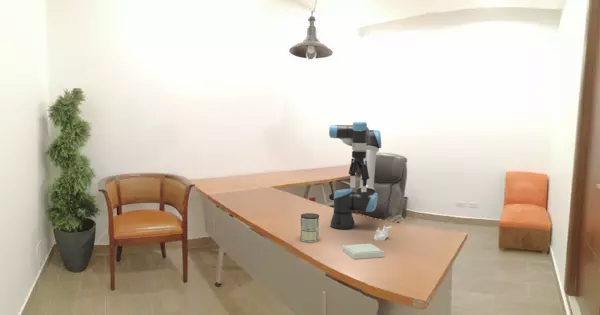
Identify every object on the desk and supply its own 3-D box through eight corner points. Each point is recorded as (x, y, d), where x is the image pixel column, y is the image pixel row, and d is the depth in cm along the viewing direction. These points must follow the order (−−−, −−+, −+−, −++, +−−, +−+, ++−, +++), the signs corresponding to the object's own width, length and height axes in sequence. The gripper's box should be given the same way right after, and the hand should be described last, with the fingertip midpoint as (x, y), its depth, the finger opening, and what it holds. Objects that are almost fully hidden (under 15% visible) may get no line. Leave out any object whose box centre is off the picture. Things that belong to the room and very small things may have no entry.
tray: (342, 250, 206) (342, 245, 206) (370, 248, 210) (370, 243, 210) (353, 259, 192) (354, 253, 192) (383, 256, 197) (383, 250, 197)
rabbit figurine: (387, 238, 232) (387, 221, 232) (396, 241, 226) (396, 224, 225) (370, 240, 226) (371, 223, 226) (379, 244, 220) (380, 226, 219)
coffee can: (297, 238, 229) (298, 213, 228) (314, 236, 233) (314, 212, 232) (304, 242, 219) (304, 217, 218) (321, 241, 223) (322, 216, 222)
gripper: (343, 149, 226) (342, 186, 228) (363, 152, 203) (362, 194, 205) (355, 148, 229) (354, 185, 231) (376, 152, 205) (375, 193, 207)
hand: (358, 189), depth 218 cm, fingers open, 13 cm apart
